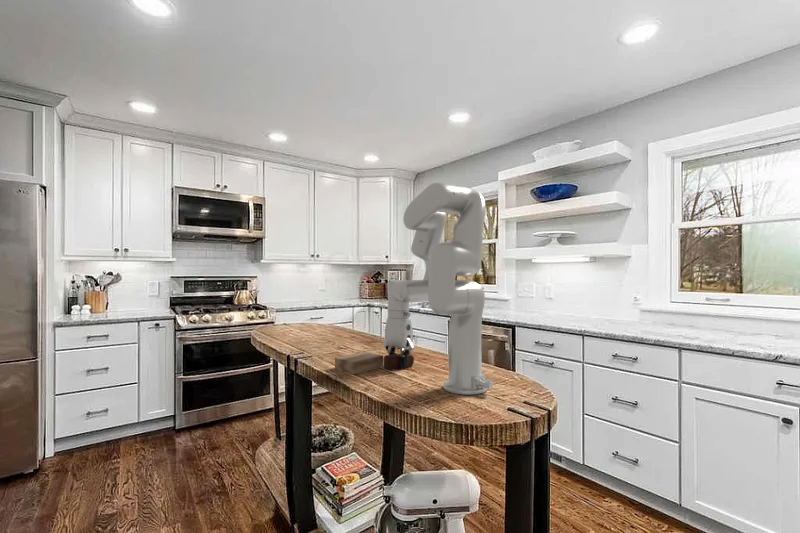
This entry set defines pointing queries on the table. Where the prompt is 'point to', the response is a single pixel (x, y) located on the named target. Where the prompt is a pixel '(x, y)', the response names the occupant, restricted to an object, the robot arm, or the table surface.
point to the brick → (396, 361)
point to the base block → (358, 362)
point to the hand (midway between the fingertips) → (397, 365)
